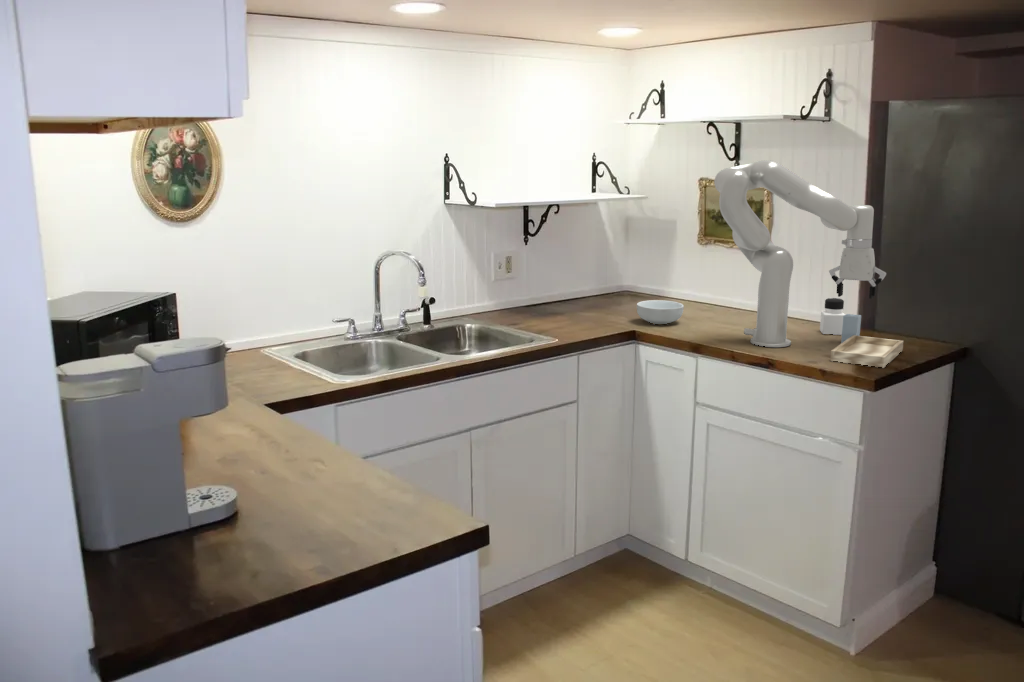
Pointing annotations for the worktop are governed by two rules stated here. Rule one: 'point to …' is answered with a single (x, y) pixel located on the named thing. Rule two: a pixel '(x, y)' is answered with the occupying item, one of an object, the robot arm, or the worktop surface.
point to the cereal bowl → (660, 311)
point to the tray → (867, 351)
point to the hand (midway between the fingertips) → (855, 297)
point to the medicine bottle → (832, 317)
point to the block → (850, 326)
